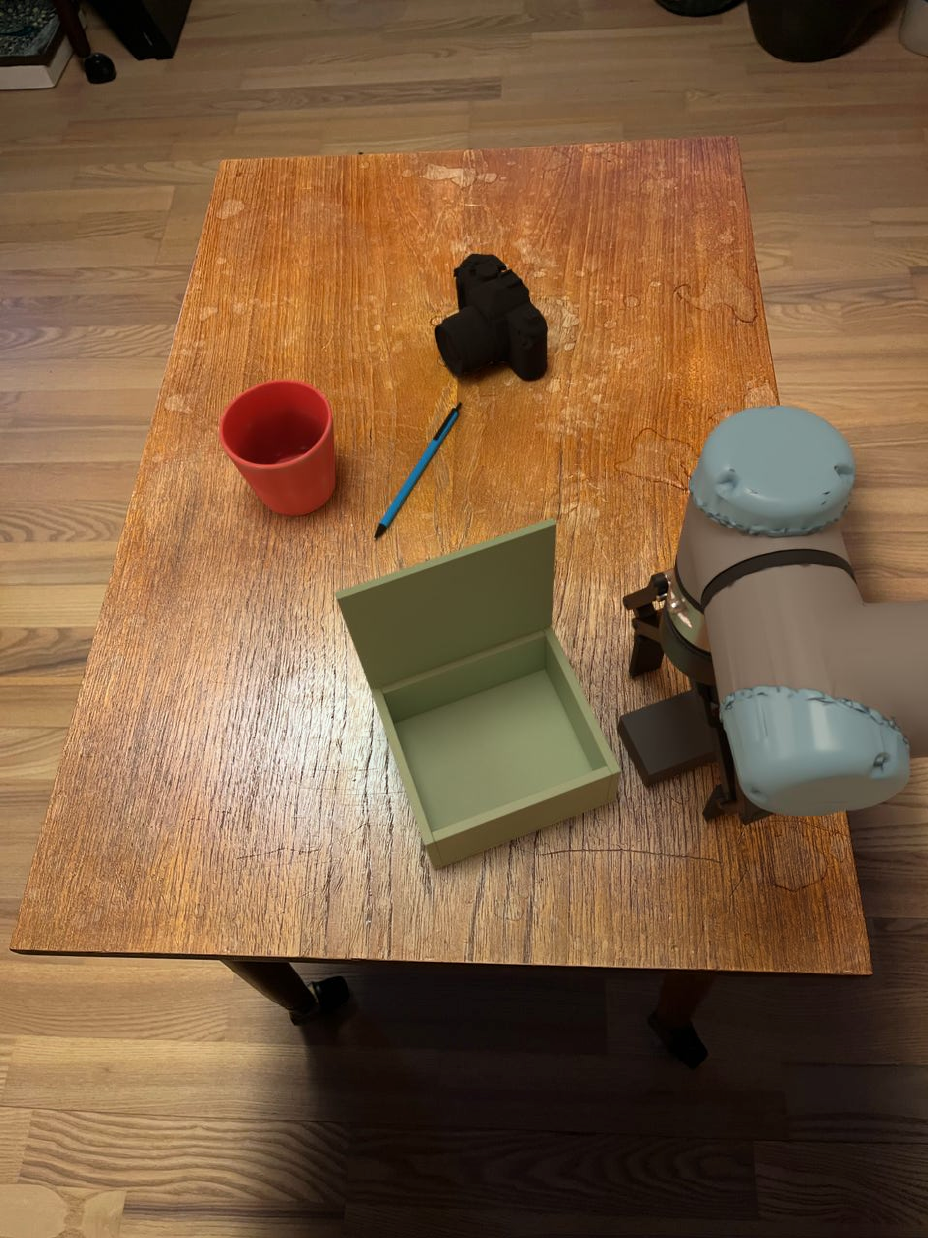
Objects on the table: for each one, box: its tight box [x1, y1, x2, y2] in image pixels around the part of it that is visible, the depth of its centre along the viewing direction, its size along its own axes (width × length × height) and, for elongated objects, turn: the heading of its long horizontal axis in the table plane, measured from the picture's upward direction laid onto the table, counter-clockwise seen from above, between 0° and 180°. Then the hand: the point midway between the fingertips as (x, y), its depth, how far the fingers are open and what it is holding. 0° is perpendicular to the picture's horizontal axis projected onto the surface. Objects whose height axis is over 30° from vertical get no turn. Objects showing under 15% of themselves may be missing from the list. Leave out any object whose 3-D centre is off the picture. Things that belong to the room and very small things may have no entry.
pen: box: [373, 401, 463, 541], centre depth 92 cm, size 1×19×1 cm, turn 154°
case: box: [370, 625, 622, 871], centre depth 73 cm, size 14×16×7 cm
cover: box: [334, 517, 557, 690], centre depth 67 cm, size 14×16×1 cm
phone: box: [616, 688, 719, 789], centre depth 74 cm, size 6×9×3 cm, turn 110°
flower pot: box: [218, 378, 336, 517], centre depth 88 cm, size 11×11×10 cm
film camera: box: [433, 252, 549, 382], centre depth 96 cm, size 15×10×9 cm, turn 31°
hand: (680, 737), depth 75 cm, fingers open, 13 cm apart
